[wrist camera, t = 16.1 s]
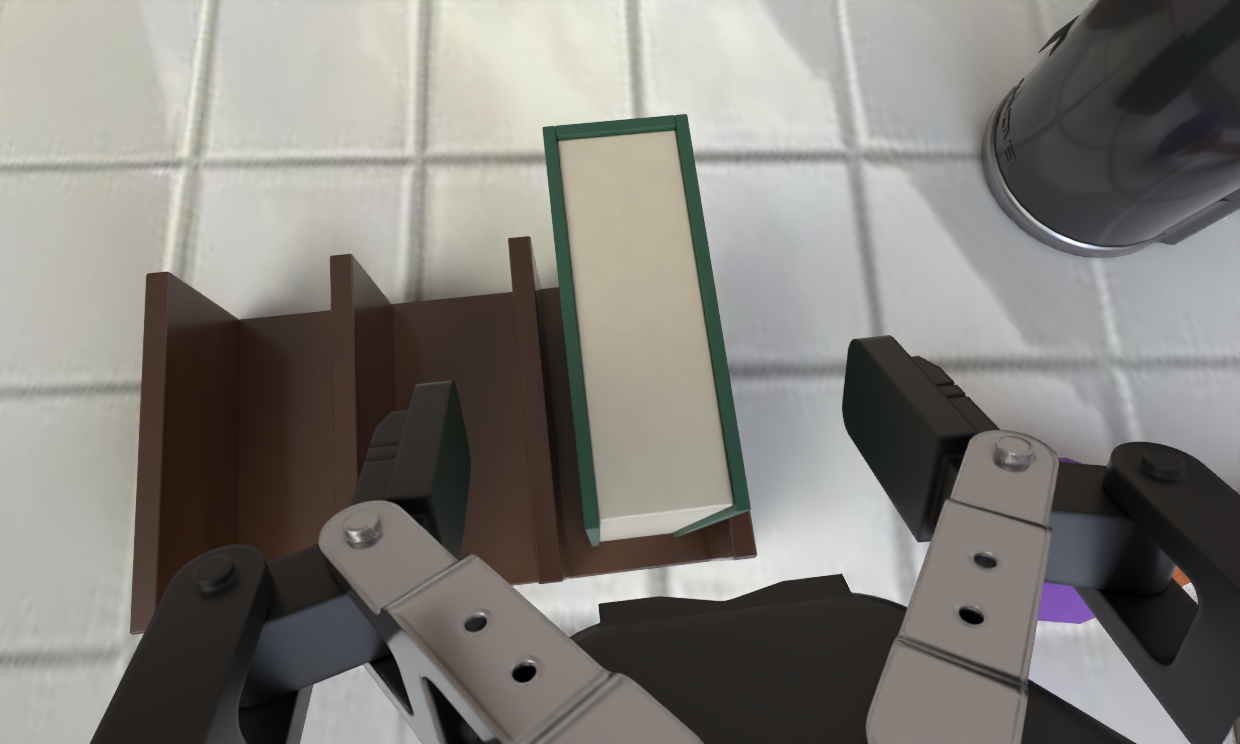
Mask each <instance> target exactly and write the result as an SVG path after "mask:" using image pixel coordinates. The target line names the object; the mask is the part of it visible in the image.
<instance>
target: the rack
mask: <svg viewBox="0 0 1240 744" xmlns="http://www.w3.org/2000/svg"><path fill="white" fill-rule="evenodd" d="M508 244H509V255H510V267H511V278H512V289H513V292H508V293H498V294H489V295H479V296H469V297H459V298H449V299H439V300H429V301H420V302H410V303H400V304H391V303H390V301H389V300H388V299H387V298H386V296H385V295H384V294H383V293H382V291H381V290H380V289H379V288H378V286H377V285H376V284H375V283H374V281H373V280H372V279H371V278H370V276H369V275H368V274H367V273H366V271H365V270H364V269H363V268H362V266H361V265H360V264H359V263H358V261H357V260H356V259H355V258H354V256H353V255H352V254H345V255H335V256H330V283H331V311H321V312H311V313H301V314H291V315H282V316H272V317H262V318H252V319H242V320H238V318H236V317H235V316H233V315H232V314H230V313H229V312H227V311H226V310H224V309H223V308H221V307H220V306H219V305H217V304H216V303H214V302H213V301H211V300H210V299H208V298H207V297H205V296H204V295H202V294H201V293H199V292H198V291H197V290H195V289H194V288H192V287H191V286H189V285H188V284H186V283H185V282H183V281H182V280H180V279H179V278H177V277H176V276H175V275H173V274H172V273H170V272H159V273H149V274H147V275H146V294H145V316H144V338H143V361H142V383H141V405H140V427H139V449H138V471H137V493H136V515H135V537H134V559H133V581H132V604H131V626H130V633H131V634H141V633H145V631H146V629H147V627H148V625H149V623H150V620H151V618H152V616H153V614H154V612H155V610H156V608H157V606H158V604H159V602H160V600H161V598H162V596H163V594H164V592H165V590H166V588H167V586H168V584H169V582H170V581H171V579H172V578H173V576H174V575H175V574H176V573H177V572H178V571H179V570H180V569H181V568H182V567H183V566H184V565H186V564H187V563H188V562H189V561H191V560H193V559H194V558H196V557H197V556H199V555H201V554H203V553H205V552H208V551H210V550H213V549H216V548H219V547H222V546H227V545H235V544H244V545H250V546H253V547H255V548H257V549H258V550H260V551H261V553H262V554H263V556H264V558H265V561H266V562H268V561H271V560H274V559H277V558H280V557H283V556H286V555H289V554H292V553H295V552H298V551H301V550H303V549H306V548H308V547H311V546H313V545H315V544H317V543H318V541H319V535H320V532H321V530H322V528H323V527H324V525H325V524H326V523H327V522H328V521H329V520H330V519H331V518H332V517H333V516H335V515H336V514H337V513H339V512H341V511H342V510H344V509H346V508H348V507H350V504H351V501H352V498H353V495H354V492H355V489H356V486H357V483H358V480H359V477H360V474H361V471H362V468H363V465H364V462H366V455H367V452H368V449H369V448H370V443H371V440H372V437H373V434H374V431H375V428H376V427H377V426H378V425H379V424H380V423H381V422H382V421H383V420H384V419H385V418H386V417H387V415H388V414H389V413H390V412H393V411H402V410H409V406H410V402H411V399H412V395H413V391H414V388H415V385H416V384H424V383H433V382H443V381H452V380H453V381H454V382H455V384H456V387H457V391H458V395H459V400H460V405H461V410H462V415H463V420H464V424H465V429H466V434H467V439H468V444H469V450H470V460H471V476H470V484H469V493H468V501H467V509H466V518H465V526H464V535H463V543H462V551H461V558H463V557H465V556H466V555H468V554H475V555H476V556H478V557H479V558H481V559H482V560H483V561H484V562H485V563H486V564H488V565H489V566H490V567H491V568H492V569H493V570H494V571H495V572H496V573H498V574H499V575H500V576H501V577H502V578H503V579H504V580H505V581H507V582H508V583H509V584H510V585H511V586H513V585H521V584H529V583H537V582H538V583H539V584H546V583H554V582H562V581H564V580H566V579H570V578H578V577H586V576H594V575H602V574H610V573H618V572H627V571H635V570H643V569H651V568H659V567H667V566H675V565H683V564H691V563H699V562H708V561H722V560H740V559H748V558H755V557H756V556H757V551H756V544H755V538H754V532H753V526H752V519H751V513H750V510H749V511H747V512H744V513H741V514H739V515H736V516H733V517H730V518H728V519H725V520H722V521H720V522H717V523H714V524H711V525H709V526H706V527H703V528H701V529H698V530H695V531H692V532H690V533H687V534H684V535H682V536H677V537H673V533H668V534H660V535H652V536H643V537H635V538H627V539H619V540H610V541H602V542H600V541H599V546H595V547H592V545H591V543H590V540H589V538H588V535H587V533H586V530H585V526H584V517H583V507H582V498H581V488H580V479H579V469H578V460H577V450H576V441H575V431H574V422H573V412H572V403H571V393H570V384H569V374H568V365H567V355H566V346H565V336H564V327H563V318H562V308H561V299H560V289H559V287H558V288H548V289H541V285H540V280H539V276H538V271H537V266H536V261H535V257H534V252H533V247H532V242H531V238H530V237H529V236H527V237H517V238H509V239H508Z"/></svg>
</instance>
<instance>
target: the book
mask: <svg viewBox="0 0 1240 744" xmlns="http://www.w3.org/2000/svg"><path fill="white" fill-rule="evenodd" d="M543 137H544V147H545V156H546V166H547V175H548V185H549V194H550V204H551V213H552V223H553V232H554V242H555V251H556V261H557V270H558V280H559V289H560V299H561V308H562V318H563V327H564V336H565V346H566V355H567V365H568V374H569V384H570V393H571V403H572V412H573V422H574V431H575V441H576V450H577V460H578V469H579V479H580V488H581V498H582V507H583V517H584V526H585V530H586V533H587V535H588V538H589V540H590V543H591V545H592V547H595V546H599V541H600V542H602V541H610V540H619V539H627V538H635V537H643V536H652V535H660V534H668V533H673V537H677V536H682V535H684V534H687V533H690V532H692V531H695V530H698V529H701V528H703V527H706V526H709V525H711V524H714V523H717V522H720V521H722V520H725V519H728V518H730V517H733V516H736V515H739V514H741V513H744V512H747V511H749V510H751V507H750V501H749V495H748V488H747V482H746V476H745V470H744V464H743V457H742V451H741V445H740V439H739V433H738V427H737V420H736V414H735V408H734V402H733V396H732V389H731V383H730V377H729V371H728V365H727V359H726V352H725V346H724V340H723V334H722V328H721V321H720V315H719V309H718V303H717V297H716V290H715V284H714V278H713V272H712V266H711V260H710V253H709V247H708V241H707V235H706V229H705V222H704V216H703V210H702V204H701V198H700V192H699V185H698V179H697V173H696V167H695V161H694V154H693V148H692V142H691V136H690V130H689V124H688V117H687V114H682V115H675V116H674V115H671V116H660V117H649V118H637V119H626V120H615V121H604V122H593V123H582V124H571V125H560V126H555V127H554V126H549V127H543Z"/></svg>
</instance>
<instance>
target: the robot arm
mask: <svg viewBox="0 0 1240 744" xmlns="http://www.w3.org/2000/svg"><path fill="white" fill-rule="evenodd" d="M1058 38H1059V40H1058V41H1057V42H1056V43H1055V44H1054V45H1053V46H1052V48H1051V49H1050V50H1049V51H1048V52H1047V53H1046V54H1045V56H1044V57H1043V58H1042V59H1041V60H1040V61H1039V62H1038V64H1037V65H1036V66H1035V67H1034V68H1033V69H1032V71H1031V72H1030V73H1029V74H1028V75H1027V76H1026V77H1025V78H1023V79H1022V80H1021V82H1020V83H1019V84H1018V85H1017V86H1015V87H1014V88H1013V89H1012V90H1011V91H1010V92H1009V94H1008V95H1007V96H1006V97H1005V98H1004V99H1003V100H1002V102H1001V103H1000V104H999V105H998V107H997V108H996V109H995V110H994V112H993V114H992V115H991V117H990V119H989V121H988V124H987V126H986V129H985V133H984V138H983V146H982V157H983V165H984V170H985V174H986V178H987V180H988V183H989V186H990V188H991V190H992V192H993V194H994V196H995V197H996V199H997V201H998V202H999V204H1000V205H1001V207H1002V208H1003V209H1004V211H1005V212H1006V213H1007V214H1008V215H1009V216H1010V218H1011V219H1012V220H1013V221H1014V222H1015V223H1016V224H1018V225H1019V226H1020V227H1021V228H1022V229H1023V230H1025V231H1026V232H1027V233H1028V234H1030V235H1031V236H1033V237H1034V238H1036V239H1038V240H1039V241H1041V242H1043V243H1045V244H1047V245H1049V246H1051V247H1053V248H1055V249H1058V250H1061V251H1064V252H1067V253H1070V254H1074V255H1079V256H1085V257H1095V258H1107V257H1116V256H1121V255H1126V254H1129V253H1133V252H1135V251H1138V250H1140V249H1142V248H1144V247H1146V246H1148V245H1150V244H1151V243H1153V242H1162V243H1166V244H1171V245H1175V244H1177V243H1179V242H1181V241H1182V240H1184V239H1186V238H1188V237H1190V236H1191V235H1193V234H1195V233H1197V232H1198V231H1200V230H1202V229H1204V228H1206V227H1207V226H1209V225H1211V224H1213V223H1215V222H1216V221H1218V220H1220V219H1222V218H1224V217H1225V216H1227V215H1229V214H1231V213H1233V212H1234V211H1236V210H1238V209H1240V0H1093V1H1092V2H1091V3H1090V4H1089V5H1088V6H1087V7H1086V9H1085V10H1084V11H1083V12H1082V13H1081V14H1080V15H1079V16H1078V17H1076V18H1075V19H1073V20H1072V21H1071V22H1069V23H1068V24H1067V25H1065V26H1064V27H1063V28H1061V29H1060V30H1059V31H1057V32H1056V33H1055V34H1054V35H1053V36H1052V37H1051V38H1050V40H1049V41H1048V42H1047V43H1046V44H1045V46H1044V47H1043V48H1042V49H1041V50H1040V51H1039V52H1041V51H1042V50H1043V49H1045V48H1046V47H1047V46H1049V45H1050V44H1051V43H1053V42H1054V41H1056V40H1057V39H1058ZM842 412H843V419H844V424H845V427H846V430H847V432H848V434H849V436H850V437H851V439H852V440H853V442H854V443H855V445H856V447H857V448H858V450H859V451H860V453H861V454H862V456H863V458H864V459H865V461H866V462H867V464H868V465H869V467H870V468H871V470H872V472H873V473H874V475H875V476H876V478H877V479H878V481H879V483H880V484H881V486H882V487H883V489H884V490H885V492H886V493H887V495H888V497H889V498H890V500H891V501H892V503H893V504H894V506H895V508H896V509H897V511H898V512H899V514H900V515H901V517H902V518H903V520H904V522H905V523H906V525H907V526H908V528H909V529H910V531H911V532H912V534H913V536H914V537H915V539H916V540H917V542H926V541H931V543H930V545H929V548H928V551H927V554H926V557H925V560H924V563H923V565H922V568H921V571H920V574H919V577H918V580H917V583H916V586H915V588H914V591H913V594H912V597H911V600H910V603H909V606H908V608H907V607H905V606H903V605H901V604H898V603H895V602H893V601H890V600H887V599H883V598H880V597H876V596H872V595H866V594H861V593H852V592H851V591H850V589H849V587H848V585H847V583H846V581H845V579H844V577H843V575H842V574H837V575H828V576H820V577H812V578H804V579H796V580H788V581H782V582H779V583H776V584H773V585H771V586H768V587H765V588H762V589H759V590H757V591H754V592H751V593H748V594H745V595H742V596H740V597H737V598H734V599H731V600H727V601H711V600H699V599H686V598H674V597H661V596H658V597H650V598H642V599H634V600H626V601H617V602H609V603H601V604H599V614H600V623H599V624H596V625H593V626H591V627H588V628H586V629H584V630H582V631H580V632H578V633H576V634H574V635H573V636H571V637H568V636H567V635H566V634H565V633H563V632H562V631H561V630H560V629H559V628H558V627H557V626H556V625H555V624H553V623H552V622H551V621H550V620H549V619H548V618H547V617H546V616H544V615H543V614H542V613H541V612H540V611H539V610H538V609H537V608H536V607H534V606H533V605H532V604H531V603H530V602H529V601H528V600H527V599H526V598H524V597H523V596H522V595H521V594H520V593H519V592H518V591H517V590H515V589H514V588H513V587H512V586H511V585H510V584H509V583H508V582H507V581H505V580H504V579H503V578H502V577H501V576H500V575H499V574H498V573H496V572H495V571H494V570H493V569H492V568H491V567H490V566H489V565H488V564H486V563H485V562H484V561H483V560H482V559H481V558H479V557H478V556H476V555H475V554H468V555H466V556H465V557H463V558H461V551H462V543H463V535H464V526H465V518H466V509H467V501H468V493H469V484H470V476H471V460H470V450H469V444H468V439H467V434H466V429H465V424H464V420H463V415H462V410H461V405H460V400H459V395H458V391H457V387H456V384H455V382H454V381H453V380H452V381H443V382H433V383H424V384H416V385H415V388H414V391H413V395H412V399H411V402H410V406H409V410H402V411H393V412H390V413H389V414H388V415H387V417H386V418H385V419H384V420H383V421H382V422H381V423H380V424H379V425H378V426H377V427H376V428H375V431H374V434H373V437H372V440H371V443H370V448H369V449H368V452H367V455H366V462H364V465H363V468H362V471H361V474H360V477H359V480H358V483H357V486H356V489H355V492H354V495H353V498H352V501H351V504H350V507H348V508H346V509H344V510H342V511H341V512H339V513H337V514H336V515H335V516H333V517H332V518H331V519H330V520H329V521H328V522H327V523H326V524H325V525H324V527H323V528H322V530H321V532H320V535H319V541H318V543H317V544H315V545H313V546H311V547H308V548H306V549H303V550H301V551H298V552H295V553H292V554H289V555H286V556H283V557H280V558H277V559H274V560H271V561H268V562H266V561H265V558H264V556H263V554H262V553H261V551H260V550H258V549H257V548H255V547H253V546H250V545H244V544H235V545H227V546H222V547H219V548H216V549H213V550H210V551H208V552H205V553H203V554H201V555H199V556H197V557H196V558H194V559H193V560H191V561H189V562H188V563H187V564H186V565H184V566H183V567H182V568H181V569H180V570H179V571H178V572H177V573H176V574H175V575H174V576H173V578H172V579H171V581H170V582H169V584H168V586H167V588H166V590H165V592H164V594H163V596H162V598H161V600H160V602H159V604H158V606H157V608H156V610H155V612H154V614H153V616H152V618H151V620H150V623H149V625H148V627H147V629H146V631H145V633H144V635H143V637H142V639H141V641H140V643H139V645H138V647H137V649H136V651H135V653H134V655H133V657H132V659H131V661H130V663H129V665H128V667H127V669H126V671H125V673H124V675H123V677H122V679H121V681H120V684H119V686H118V688H117V690H116V692H115V694H114V696H113V698H112V700H111V702H110V704H109V706H108V708H107V710H106V712H105V714H104V716H103V718H102V720H101V722H100V724H99V726H98V728H97V730H96V732H95V734H94V736H93V738H92V740H91V743H90V744H300V740H301V736H302V732H303V727H304V723H305V719H306V714H307V710H308V705H309V701H310V697H311V692H312V688H313V684H315V683H318V682H320V681H323V680H325V679H328V678H330V677H333V676H335V675H338V674H340V673H343V672H345V671H348V670H350V669H353V668H355V667H358V666H360V665H364V667H365V669H366V670H367V671H368V672H369V674H370V675H371V676H372V678H373V679H374V680H375V682H376V683H377V684H378V686H379V687H380V688H381V689H382V691H383V692H384V693H385V695H386V696H387V697H388V699H389V700H390V701H391V703H392V704H393V705H394V706H395V708H396V709H397V710H398V712H399V713H400V714H401V716H402V717H403V718H404V720H405V721H406V722H407V723H408V725H409V726H410V727H411V729H412V730H413V731H414V733H415V734H416V736H417V737H418V739H419V740H420V742H421V744H1136V743H1134V742H1133V741H1131V740H1129V739H1128V738H1126V737H1124V736H1123V735H1121V734H1119V733H1118V732H1116V731H1114V730H1113V729H1111V728H1109V727H1108V726H1106V725H1104V724H1103V723H1101V722H1099V721H1098V720H1096V719H1094V718H1093V717H1091V716H1089V715H1088V714H1086V713H1084V712H1083V711H1081V710H1079V709H1078V708H1076V707H1074V706H1073V705H1071V704H1069V703H1068V702H1066V701H1064V700H1063V699H1061V698H1059V697H1058V696H1056V695H1054V694H1053V693H1051V692H1049V691H1048V690H1046V689H1044V688H1043V687H1041V686H1039V685H1038V684H1036V683H1034V682H1033V681H1031V680H1029V679H1028V676H1029V669H1030V663H1031V657H1032V651H1033V645H1034V639H1035V633H1036V626H1037V620H1038V614H1039V608H1040V602H1041V596H1042V590H1043V583H1051V584H1059V585H1067V586H1073V587H1074V589H1075V590H1076V592H1077V593H1078V594H1079V596H1080V597H1081V598H1082V600H1083V601H1084V602H1085V604H1086V605H1087V606H1088V608H1089V609H1090V610H1091V612H1092V613H1093V614H1094V616H1095V617H1096V618H1097V620H1098V621H1099V622H1100V624H1101V625H1102V626H1103V628H1104V629H1105V630H1106V632H1107V633H1108V634H1109V636H1110V637H1111V638H1112V640H1113V641H1114V642H1115V644H1116V645H1117V646H1118V648H1119V649H1120V650H1121V651H1122V653H1123V654H1124V655H1125V657H1126V658H1127V659H1128V661H1129V662H1130V663H1131V665H1132V666H1133V667H1134V669H1135V670H1136V671H1137V673H1138V674H1139V675H1140V677H1141V678H1142V679H1143V681H1144V682H1145V683H1146V685H1147V686H1148V687H1149V689H1150V690H1151V691H1152V693H1153V694H1154V695H1155V697H1156V698H1157V699H1158V701H1159V702H1160V703H1161V705H1162V706H1163V707H1164V709H1165V710H1166V711H1167V713H1168V714H1169V715H1170V717H1171V718H1172V719H1173V721H1174V722H1175V723H1176V725H1177V726H1178V727H1179V729H1180V730H1181V731H1182V733H1183V734H1184V735H1185V737H1186V738H1187V739H1188V741H1189V742H1190V743H1191V744H1240V495H1239V494H1238V493H1237V492H1236V491H1235V490H1233V489H1232V488H1231V487H1230V486H1229V485H1228V484H1226V483H1225V482H1224V481H1223V480H1222V479H1221V478H1219V477H1218V476H1217V475H1216V474H1215V473H1213V472H1212V471H1211V470H1210V469H1209V468H1208V467H1206V466H1205V465H1204V464H1203V463H1201V462H1200V461H1199V460H1197V459H1196V458H1194V457H1193V456H1191V455H1189V454H1187V453H1185V452H1183V451H1180V450H1178V449H1175V448H1172V447H1169V446H1165V445H1161V444H1156V443H1150V442H1130V443H1125V444H1121V445H1119V446H1117V447H1116V448H1115V449H1114V450H1113V451H1112V453H1111V456H1110V459H1109V462H1108V465H1107V466H1099V465H1088V464H1077V463H1067V462H1059V460H1058V457H1057V455H1056V453H1055V452H1054V451H1053V450H1052V449H1051V448H1050V447H1049V446H1047V445H1046V444H1045V443H1043V442H1041V441H1040V440H1038V439H1036V438H1034V437H1031V436H1028V435H1026V434H1022V433H1019V432H1013V431H1006V430H1000V429H999V428H998V427H997V426H996V425H995V424H994V423H993V422H992V421H991V420H990V419H989V418H988V417H987V416H986V415H985V414H984V412H983V411H982V410H981V409H980V408H979V407H978V406H977V405H976V404H975V403H974V402H973V401H972V400H971V399H970V398H969V397H966V395H965V393H964V392H963V391H962V389H961V388H960V387H959V386H958V385H955V384H954V381H953V380H952V379H951V378H950V377H949V376H948V375H947V374H946V373H945V372H944V371H943V370H942V369H941V368H940V367H938V366H936V365H935V364H933V363H931V362H929V361H927V360H925V359H923V358H921V357H919V356H915V357H911V356H910V355H909V354H908V353H907V352H906V351H905V350H904V349H903V348H902V346H901V345H900V344H899V343H898V342H897V341H896V340H895V339H894V338H893V337H892V336H889V335H888V336H878V337H869V338H859V339H853V340H852V341H851V342H850V345H849V348H848V356H847V365H846V374H845V384H844V393H843V403H842ZM1176 566H1177V567H1178V568H1179V569H1180V570H1181V571H1182V572H1183V573H1184V574H1185V575H1186V576H1187V577H1188V579H1189V580H1190V581H1191V583H1192V584H1193V586H1194V588H1195V591H1196V593H1197V597H1198V605H1197V603H1196V602H1195V601H1194V600H1193V599H1192V598H1191V597H1190V596H1189V595H1188V594H1187V593H1186V591H1185V590H1184V589H1183V588H1182V587H1181V586H1180V585H1179V584H1178V583H1177V582H1176V581H1175V579H1174V578H1173V577H1172V576H1173V573H1174V571H1175V569H1176Z"/></svg>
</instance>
